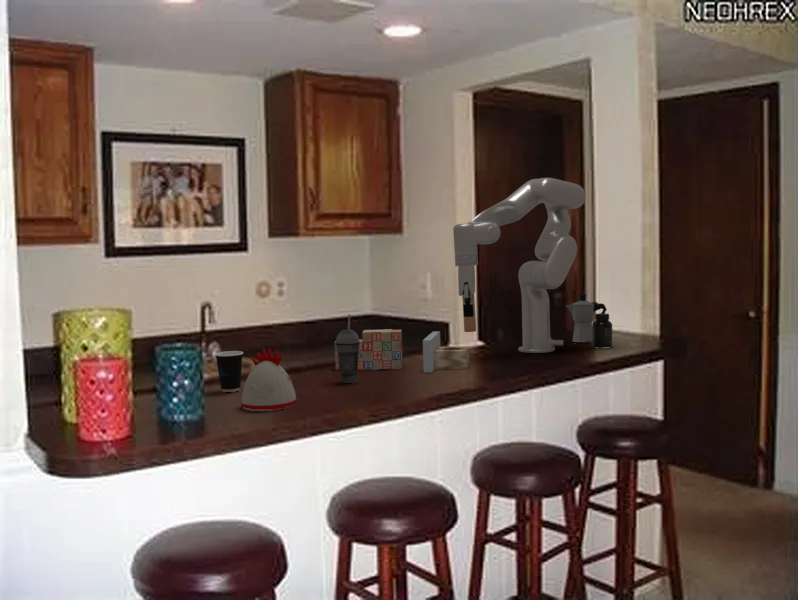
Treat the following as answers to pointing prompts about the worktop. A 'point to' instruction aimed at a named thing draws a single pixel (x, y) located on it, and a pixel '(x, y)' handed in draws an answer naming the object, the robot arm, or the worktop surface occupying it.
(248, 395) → the kitchen timer
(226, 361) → the dixie cup
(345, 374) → the beverage cup
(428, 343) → the backstop wall
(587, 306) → the coffee maker
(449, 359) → the socket block
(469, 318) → the dowel
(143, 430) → the worktop surface
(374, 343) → the stack of blocks
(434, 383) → the worktop surface
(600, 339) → the supplement bottle
